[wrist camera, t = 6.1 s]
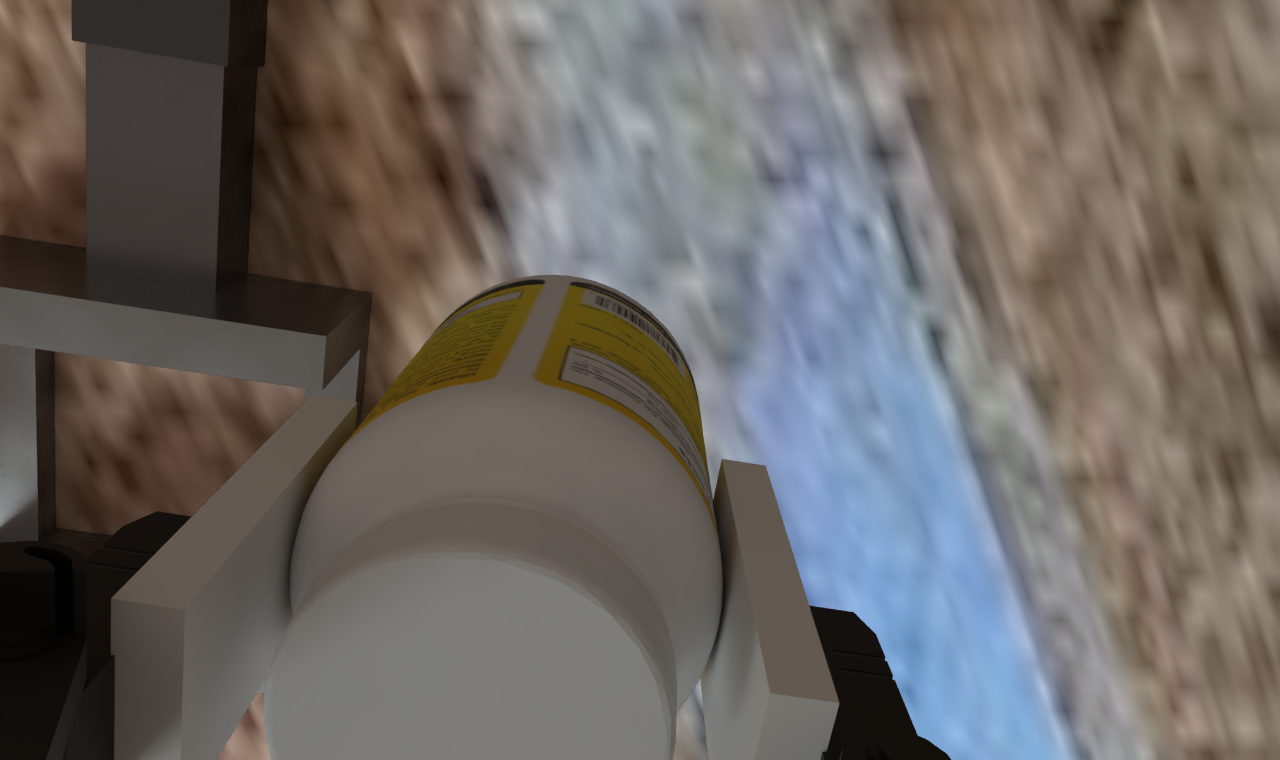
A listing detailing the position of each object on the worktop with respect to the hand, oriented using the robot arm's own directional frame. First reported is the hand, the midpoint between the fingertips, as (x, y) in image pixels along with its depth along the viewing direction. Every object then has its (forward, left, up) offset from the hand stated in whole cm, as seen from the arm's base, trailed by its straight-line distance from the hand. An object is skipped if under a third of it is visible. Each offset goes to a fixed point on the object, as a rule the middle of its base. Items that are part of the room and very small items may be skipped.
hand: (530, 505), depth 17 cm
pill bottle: (0, 0, -5) cm, 5 cm away
